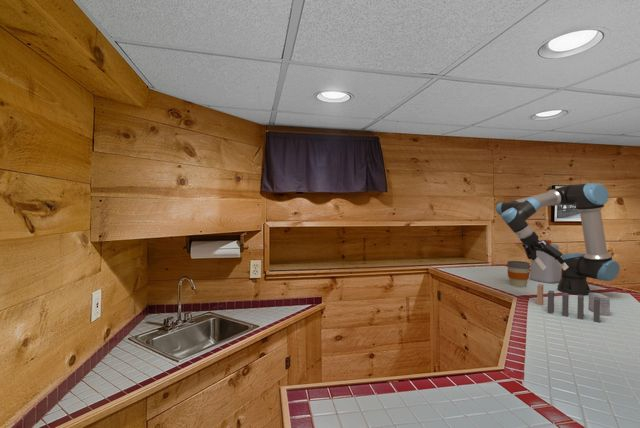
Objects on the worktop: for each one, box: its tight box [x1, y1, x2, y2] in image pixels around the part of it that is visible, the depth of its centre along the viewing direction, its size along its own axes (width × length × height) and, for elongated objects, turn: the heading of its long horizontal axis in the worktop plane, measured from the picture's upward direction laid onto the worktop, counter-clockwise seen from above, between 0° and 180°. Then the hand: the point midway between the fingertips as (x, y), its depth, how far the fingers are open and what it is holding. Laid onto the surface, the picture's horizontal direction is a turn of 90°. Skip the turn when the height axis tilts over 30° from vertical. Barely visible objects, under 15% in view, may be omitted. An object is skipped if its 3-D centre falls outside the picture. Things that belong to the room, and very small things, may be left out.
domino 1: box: [547, 289, 555, 315], centre depth 147 cm, size 2×5×10 cm, turn 137°
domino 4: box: [593, 297, 601, 324], centre depth 136 cm, size 2×5×10 cm, turn 138°
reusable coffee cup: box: [506, 260, 531, 288], centre depth 197 cm, size 12×13×15 cm
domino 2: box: [561, 292, 570, 318], centre depth 144 cm, size 2×5×10 cm, turn 137°
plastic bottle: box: [529, 239, 561, 284], centre depth 209 cm, size 15×15×28 cm
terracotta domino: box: [536, 283, 544, 306], centre depth 160 cm, size 2×5×10 cm, turn 138°
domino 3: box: [577, 295, 585, 320], centre depth 140 cm, size 2×5×10 cm, turn 138°
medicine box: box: [588, 292, 611, 316], centre depth 146 cm, size 8×4×9 cm, turn 168°
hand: (554, 268), depth 153 cm, fingers open, 13 cm apart
